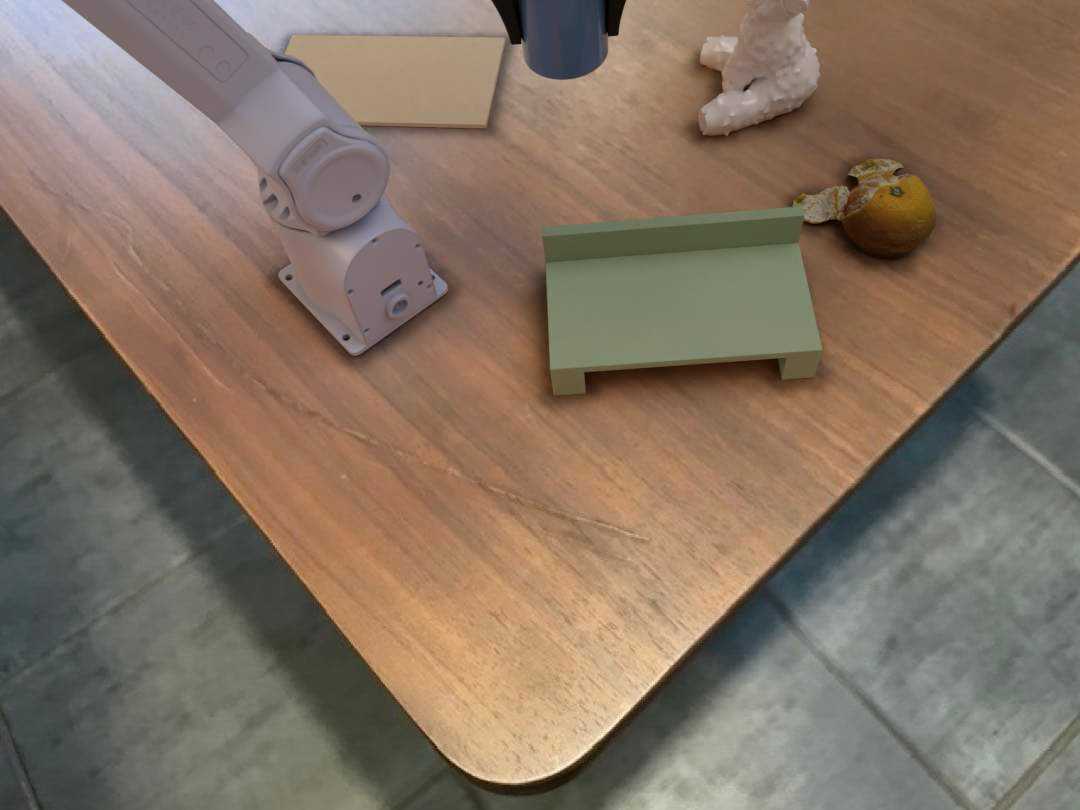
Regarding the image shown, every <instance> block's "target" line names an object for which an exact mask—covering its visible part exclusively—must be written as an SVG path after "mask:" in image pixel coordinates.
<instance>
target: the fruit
mask: <svg viewBox="0 0 1080 810" xmlns="http://www.w3.org/2000/svg"><path fill="white" fill-rule="evenodd" d="M904 167H905V166H904V165H903V164H902V163H900V162H898V161H895V160H893V159H888V158H886V159H885V158H868V159H866V160H865V161H863V162H861V163H859V164H858V165H854V166H853V167H851V169H850V171H849V173H847V176H848V177H856V178H857V180H858V183H857V184H858V185H857V186H854V187H853V188H852V189H851V191H849V189H848V186H845V185H834V186H832V187H826V188H825V189H824V190H822V191H820V192H819V193H816V194H806V193H805V192H802V193H801V194H799V195H798V197H795V198H794V199H792V200H793V202H792V206H791V207H798V206H802V207H803V211H804V215H805V216H804V220H803V222H806V223H808V224H809V223H810V224H813V225H814V224H815V225H819V224H820V223H823V222H827V221H828V220H837V221H840V223H841V224H842V228H843V230H844V231H845V233H846V235H847V237H848V239H849V240H850V242H851V243H852V244H854V245H856V246H857V247H858V248H859V249H860V250H861V251H862V252H863V253H864V254H867V255H869V256H872V257H876V258H882V259H897V258H900V257H904V256H906V255H908V254H910V253H912V252H914V251H915V250H916V249H918V247H919V246H920V245H923V244H925V242H927V240H928V238H930V235H932V234H931V233H932V232H933V230H934V229H935V227H936V224H937V215H936V206H935V204H934V200H933V197H932V194H931V191H930V190H929V188H928V187H927V186H926V185H925V183H924V181H923V180H922V179H920V177H919V176H917V175H915V174H910V173H905V174H900V175H899V174H898V175H895V173H897V172H899V171H901V170H902V169H904Z"/></svg>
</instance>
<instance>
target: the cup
mask: <svg viewBox="0 0 1080 810" xmlns="http://www.w3.org/2000/svg"><path fill="white" fill-rule="evenodd" d="M517 7H518V16H519V23H520V31H521V48H522V57H523V60H524V63H525V64H526V66H527V67H528V68H529V69H530V70H531V71H532V72H533V73H534V74H536V75H538V76H541V77H543V78H546V79H549V80H550V79H551V80H558V81H566V80H575V79H579V78H582V77H585V76H587V75H589V74H591V73H593V72H594V71H596V70H598V69H599V68H600V67H601V66H602V65H603V63H604V62H605V61H606V59H607V57H608V55H609V37H608V33H607V0H517Z"/></svg>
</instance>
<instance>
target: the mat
mask: <svg viewBox="0 0 1080 810" xmlns="http://www.w3.org/2000/svg"><path fill="white" fill-rule="evenodd" d="M506 42H507V41H506V37H504V36H503V37H501V36H500V37H497V36H496V37H490V36H412V35H410V36H409V35H407V36H406V35H336V34H335V35H333V34H332V35H331V34H330V35H324V34H321V35H320V34H319V35H318V34H292V35H291V37H290V39H289V42H288V44H287V47H286V50H285V52H284V54H286V55H291V56H293V57H295V58H298V59H299V60H301V61H302V62H304V63H305V64H306V65H307V66H308V67H309V68H310V69H311V70H312V71H313V73H314V75H315V77H316V78H317V80H318V82H319V83H320V84H321V85H322V86H323V87H324V88H325V89H326V90H327V91H328V92H329V93H330V94H331V95H332V96H333V98H334V99H335V100H336V101H337V102H338V103H339V104H340V105H341V106H342V107H343V108H344V109H345V110H346V111H347V112H348V113H349V114H350V116H351V117H352V118H353V119H354V120H355V121H356V122H357V123H358V124H359V125H360V126H367V127H368V126H369V127H372V126H374V127H378V126H379V127H407V128H408V127H409V128H447V129H449V128H452V129H487V128H488V123H489V118H490V114H491V110H492V106H493V100H494V96H495V92H496V87H497V83H498V78H499V75H500V68H501V63H502V61H503V60H502V59H503V55H504V50H505V46H506Z"/></svg>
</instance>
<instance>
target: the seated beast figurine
mask: <svg viewBox="0 0 1080 810" xmlns="http://www.w3.org/2000/svg"><path fill="white" fill-rule="evenodd" d="M810 2H811V0H745V3H746V6H748V7H749V8H748V9H749V11H748V12H747V13H745V14H744V16H743V20H742V22H740V23H739V27H738V31H739V33H738V37H737V36H726V35H724V34H721V35H720V36H707V38H706V41H705V42H704V43H703V45H702V48H701V51H700V56H699V64H701V65H704V66H706V67H707V69H712V70H715V71H718V72H720V74H721V77H722V81H721V85H722V92H721V93H719V94H718V95H717V96H716V97H715V98H714V99H712V100H711V101H710V102H708V103H706V104H704V105H703V106H702V107H701V108H699V110H698V120H697V121H698V125H699V126H698V127H699V131H700V132H702V135H703V136H710V137H715V136H723V135H724V136H725V137H728V136H729V134H730V133H731V132H735V131H739V130H741V129H744V128H747V127H751V126H753V125H754V126H757V125H758V124H759V123H761V122H765V121H768V120H773V118H775V117H777V116H781V115H784V114H788V113H791V112H793V110H794V109H799V108H800V107H801V106H802V105H803V103H804V102H805V101H807V99H809V98H810V97H811V95H812V94H813V93H814V91H815V90H816V89H817V88H818V81H819V79H820V78H821V76H822V74H821V73H820V68H821V64H820V62H819V58H818V57H817V48H815V47H812V45H811V43H810V41H808V39H807V36H806V35H805V33H804V32H805V28H804V26H803V23H804V21H805V15H804V14H803V13H807V12H808V9H809V5H810ZM745 88H747V89H746V90H745Z"/></svg>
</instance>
